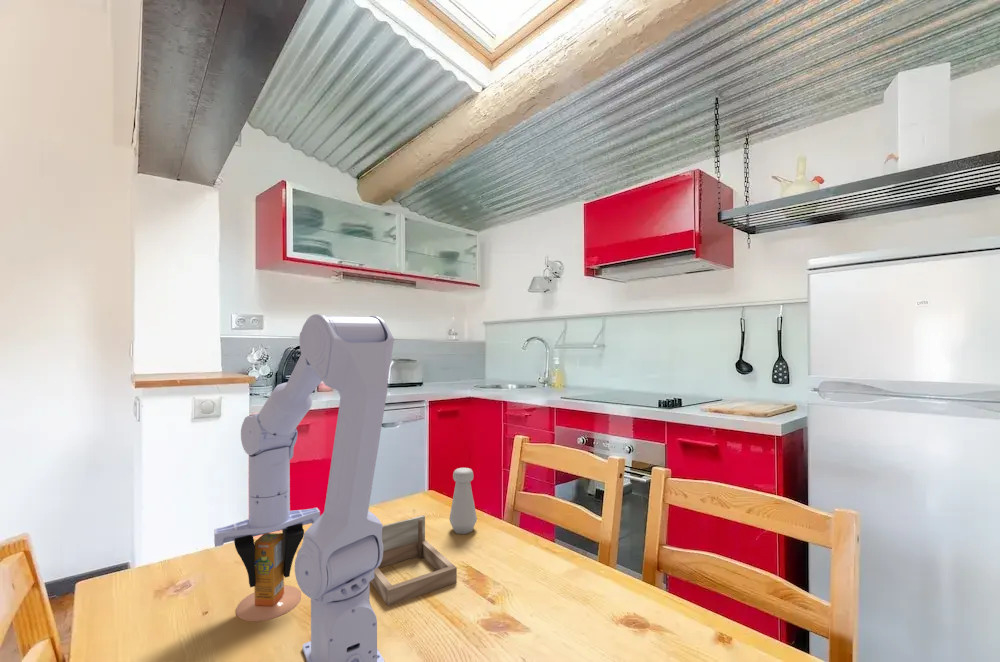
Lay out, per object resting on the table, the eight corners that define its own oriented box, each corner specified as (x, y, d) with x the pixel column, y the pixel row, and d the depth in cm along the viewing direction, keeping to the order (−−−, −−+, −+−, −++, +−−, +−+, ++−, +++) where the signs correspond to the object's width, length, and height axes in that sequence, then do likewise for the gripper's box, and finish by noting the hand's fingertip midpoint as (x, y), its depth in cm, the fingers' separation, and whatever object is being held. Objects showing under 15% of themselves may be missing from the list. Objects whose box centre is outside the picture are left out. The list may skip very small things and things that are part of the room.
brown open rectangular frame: (456, 582, 77) (456, 540, 77) (388, 606, 70) (388, 561, 70) (423, 551, 87) (423, 515, 87) (361, 570, 81) (361, 530, 81)
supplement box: (252, 607, 69) (252, 541, 69) (265, 594, 72) (264, 531, 72) (273, 607, 69) (273, 541, 69) (285, 594, 72) (285, 531, 72)
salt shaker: (472, 537, 93) (472, 474, 93) (446, 534, 95) (446, 472, 95) (479, 525, 99) (479, 466, 99) (454, 523, 100) (454, 464, 100)
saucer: (306, 609, 69) (306, 605, 69) (238, 631, 64) (238, 627, 64) (295, 582, 77) (295, 579, 77) (233, 600, 72) (233, 597, 72)
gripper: (313, 476, 78) (313, 555, 78) (213, 493, 70) (213, 581, 70) (323, 487, 72) (323, 573, 72) (215, 508, 64) (215, 604, 64)
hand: (269, 579), depth 70 cm, fingers closed on supplement box, 4 cm apart
